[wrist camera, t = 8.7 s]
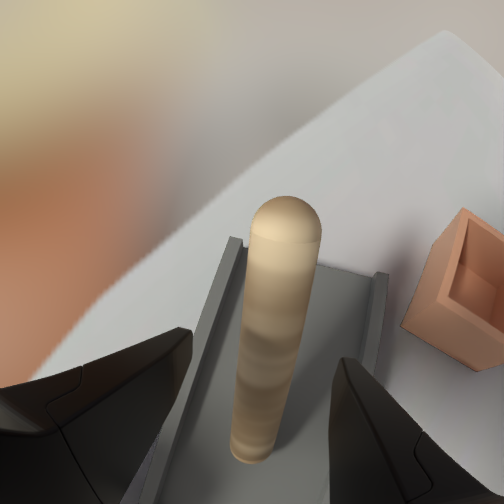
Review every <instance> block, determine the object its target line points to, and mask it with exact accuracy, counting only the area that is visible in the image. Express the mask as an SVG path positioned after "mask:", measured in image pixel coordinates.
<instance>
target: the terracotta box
mask: <svg viewBox="0 0 504 504" xmlns="http://www.w3.org/2000/svg"><path fill="white" fill-rule="evenodd" d="M400 327H402V328H404V329H405V330H407V331H409V332H410V333H412V334H414V335H416V336H417V337H419V338H421V339H422V340H424V341H426V342H427V343H429V344H431V345H432V346H434V347H436V348H437V349H439V350H441V351H442V352H444V353H446V354H447V355H449V356H451V357H452V358H454V359H456V360H457V361H459V362H461V363H462V364H464V365H466V366H467V367H469V368H471V369H472V370H474V371H476V372H478V371H481V370H485V369H488V368H491V367H495V366H498V365H501V364H504V235H503V234H501V233H500V232H499V231H497V230H496V229H494V228H493V227H492V226H490V225H489V224H487V223H486V222H485V221H483V220H482V219H480V218H479V217H477V216H476V215H474V214H473V213H471V212H470V211H468V210H467V209H465V208H464V207H462V209H461V210H460V211H459V213H458V214H457V215H456V216H455V218H454V219H453V220H452V222H451V223H450V224H449V225H448V227H447V228H446V229H445V230H444V232H443V233H442V234H441V235H440V236H439V238H438V239H437V240H436V241H435V242H434V244H433V245H432V248H431V251H430V254H429V256H428V259H427V262H426V265H425V268H424V270H423V273H422V276H421V278H420V281H419V283H418V286H417V288H416V291H415V293H414V296H413V298H412V301H411V303H410V305H409V308H408V310H407V312H406V315H405V317H404V319H403V321H402V324H401V326H400Z"/></svg>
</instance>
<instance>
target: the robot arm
mask: <svg viewBox="0 0 504 504" xmlns="http://www.w3.org/2000/svg"><path fill="white" fill-rule="evenodd" d="M192 355H193V333H192V331H191V330H189V329H185V328H181V327H178V328H175V329H172V330H170V331H168V332H165V333H163V334H160V335H158V336H155V337H153V338H150V339H148V340H145V341H143V342H141V343H138V344H136V345H133V346H130V347H128V348H125V349H123V350H120V351H118V352H115V353H113V354H110V355H107V356H105V357H102V358H100V359H97V360H94V361H92V362H89V363H86V364H84V365H83V367H82V366H78V367H76V368H73V369H70V370H67V371H64V372H61V373H58V374H55V375H52V376H49V377H45V378H42V379H38V380H34V381H30V382H26V383H22V384H17V385H13V386H10V387H5V388H0V504H119V503H120V501H121V499H122V497H123V496H124V494H125V492H126V490H127V488H128V487H129V485H130V483H131V481H132V479H133V478H134V476H135V474H136V472H137V471H138V469H139V467H140V465H141V463H142V462H143V460H144V458H145V456H146V454H147V453H148V451H149V449H150V447H151V445H152V443H153V442H154V440H155V438H156V436H157V434H158V433H159V431H160V429H161V427H162V425H163V424H164V422H165V420H166V418H167V416H168V415H169V413H170V411H171V409H172V407H173V405H174V403H175V401H176V399H177V396H178V394H179V391H180V389H181V386H182V383H183V381H184V378H185V376H186V373H187V371H188V368H189V365H190V363H191V360H192ZM422 431H423V429H422V428H421V427H420V426H419V425H418V424H417V423H416V422H415V421H414V420H413V419H412V418H411V416H410V415H409V414H408V413H407V412H406V411H405V410H404V409H403V408H402V407H401V406H400V405H399V404H398V403H397V402H396V400H395V399H394V398H393V397H392V396H391V395H390V394H389V393H388V392H387V391H386V390H385V389H384V388H383V387H382V386H381V385H380V383H379V382H378V381H377V380H376V379H375V378H374V377H373V376H372V375H371V374H370V373H369V372H368V371H367V370H366V369H365V368H364V366H363V365H362V364H361V363H360V362H359V361H358V360H357V359H356V358H353V357H344V356H343V357H341V358H340V360H339V362H338V365H337V369H336V372H335V375H334V378H333V381H332V388H331V402H330V415H329V427H328V445H329V490H330V504H504V497H503V496H500V495H497V494H495V493H493V492H491V491H490V490H489V489H487V488H486V487H485V486H484V485H482V484H481V483H480V482H479V481H478V480H476V479H475V478H474V477H473V476H472V475H470V474H469V473H468V472H467V471H466V470H465V469H463V468H462V467H461V466H460V465H459V464H458V463H456V462H455V461H454V460H453V459H452V458H451V457H450V456H449V455H448V454H446V453H445V452H444V451H443V450H442V449H441V448H440V447H439V446H438V445H437V444H436V443H435V442H434V441H433V440H432V439H431V438H430V437H429V435H428V434H427V433H426V432H425V431H423V432H422Z"/></svg>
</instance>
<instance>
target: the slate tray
mask: <svg viewBox="0 0 504 504" xmlns="http://www.w3.org/2000/svg"><path fill="white" fill-rule="evenodd" d="M248 249H249V248H245V247H243V240H242V239H239V238H235V237H231V236H230V237H229V240H228V243H227V245H226V248H225V251H224V253H223V256H222V259H221V261H220V264H219V267H218V270H217V272H216V275H215V278H214V280H213V283H212V286H211V289H210V291H209V294H208V297H207V300H206V302H205V305H204V308H203V311H202V313H201V316H200V319H199V322H198V325H197V327H196V330H195V333H194V336H193V355H192V360H191V363H190V365H189V368H188V371H187V373H186V376H185V378H184V381H183V383H182V386H181V389H180V391H179V394H178V396H177V399H176V401H175V403H174V405H173V407H172V409H171V411H170V413H169V415H168V416H167V418H166V420H165V422H164V424H163V427H162V430H161V433H160V436H159V439H158V442H157V445H156V448H155V451H154V454H153V457H152V461H151V464H150V467H149V470H148V473H147V476H146V480H145V483H144V486H143V489H142V493H141V496H140V499H139V502H138V504H330V490H329V445H328V427H329V415H330V402H331V388H332V381H333V378H334V375H335V372H336V369H337V365H338V362H339V360H340V358H341V357H343V356H344V357H353V358H356V359H357V360H358V361H359V362H360V363H361V364H362V365H363V366H364V368H365V369H366V370H367V371H368V372H369V373H370V374H371V375H372V376H374V371H375V366H376V361H377V355H378V350H379V344H380V338H381V332H382V326H383V319H384V312H385V304H386V296H387V288H388V279H389V274H385V273H381V272H376V273H375V275H374V276H373V278H370V277H366V276H362V275H358V274H353V273H349V272H345V271H341V270H337V269H333V268H329V267H324V266H320V265H316V270H315V275H314V280H313V285H312V290H311V295H310V300H309V305H308V310H307V315H306V319H305V324H304V329H303V333H302V338H301V342H300V347H299V351H298V355H297V359H296V364H295V368H294V372H293V376H292V380H291V384H290V388H289V392H288V396H287V400H286V404H285V407H284V411H283V415H282V419H281V422H280V426H279V430H278V433H277V437H276V440H275V444H274V447H273V450H272V453H271V454H270V456H269V457H268V458H267V459H266V460H264V461H263V462H260V463H257V464H246V463H243V462H241V461H239V460H238V459H236V458H235V457H234V455H233V454H232V452H231V449H230V434H231V424H232V413H233V403H234V392H235V382H236V371H237V361H238V351H239V340H240V330H241V320H242V310H243V300H244V289H245V279H246V269H247V259H248Z"/></svg>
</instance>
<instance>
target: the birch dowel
mask: <svg viewBox="0 0 504 504" xmlns="http://www.w3.org/2000/svg"><path fill="white" fill-rule="evenodd" d="M321 233H322V229H321V223H320V220H319V217H318V215H317V214H316V212H315V210H314V209H313V208H312V207H311V206H310V205H309V204H308V203H306V202H305V201H303V200H301V199H299V198H296V197H292V196H281V197H276V198H273V199H271V200H269V201H267V202H266V203H264V204H263V205H262V206H261V207H260V208H259V209H258V211H257V212H256V213H255V215H254V218H253V220H252V224H251V229H250V239H249V249H248V259H247V269H246V279H245V289H244V300H243V310H242V320H241V330H240V340H239V351H238V361H237V371H236V382H235V392H234V403H233V413H232V424H231V434H230V449H231V452H232V454H233V455H234V457H235V458H236V459H238V460H239V461H241V462H243V463H246V464H257V463H260V462H263V461H264V460H266V459H267V458H268V457H269V456H270V454H271V453H272V450H273V447H274V444H275V440H276V437H277V433H278V430H279V426H280V422H281V419H282V415H283V411H284V407H285V404H286V400H287V396H288V392H289V388H290V384H291V380H292V376H293V372H294V368H295V364H296V359H297V355H298V351H299V347H300V342H301V338H302V333H303V329H304V324H305V319H306V315H307V310H308V305H309V300H310V295H311V290H312V285H313V280H314V275H315V270H316V264H317V259H318V253H319V248H320V242H321Z"/></svg>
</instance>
